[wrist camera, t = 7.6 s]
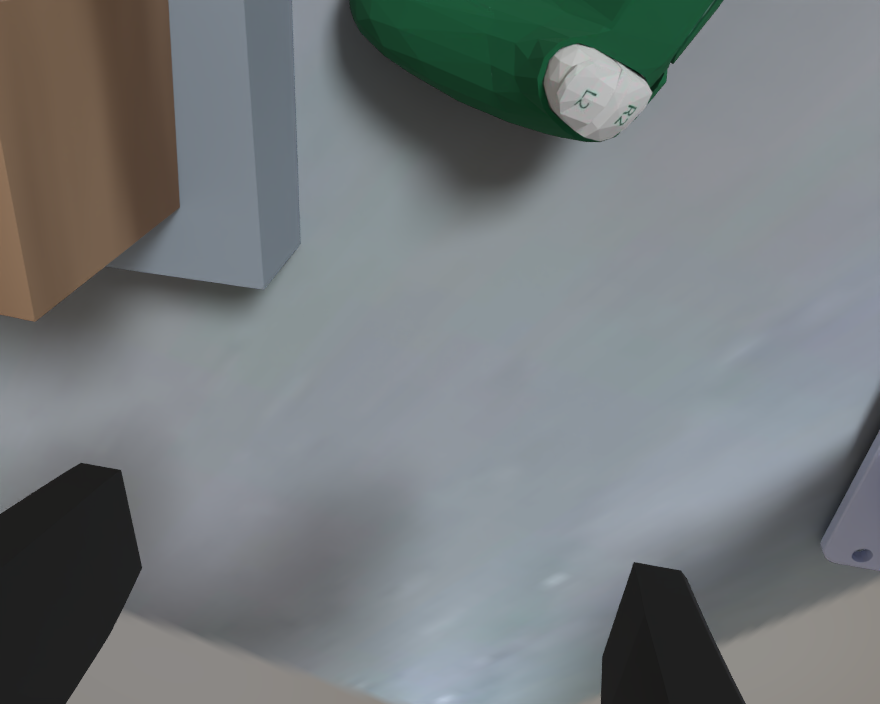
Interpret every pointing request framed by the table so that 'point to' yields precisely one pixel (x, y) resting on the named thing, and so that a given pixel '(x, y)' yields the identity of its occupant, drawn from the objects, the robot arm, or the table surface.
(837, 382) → the table surface
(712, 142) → the table surface
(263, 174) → the slate block
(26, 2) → the walnut block
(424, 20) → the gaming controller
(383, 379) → the table surface
